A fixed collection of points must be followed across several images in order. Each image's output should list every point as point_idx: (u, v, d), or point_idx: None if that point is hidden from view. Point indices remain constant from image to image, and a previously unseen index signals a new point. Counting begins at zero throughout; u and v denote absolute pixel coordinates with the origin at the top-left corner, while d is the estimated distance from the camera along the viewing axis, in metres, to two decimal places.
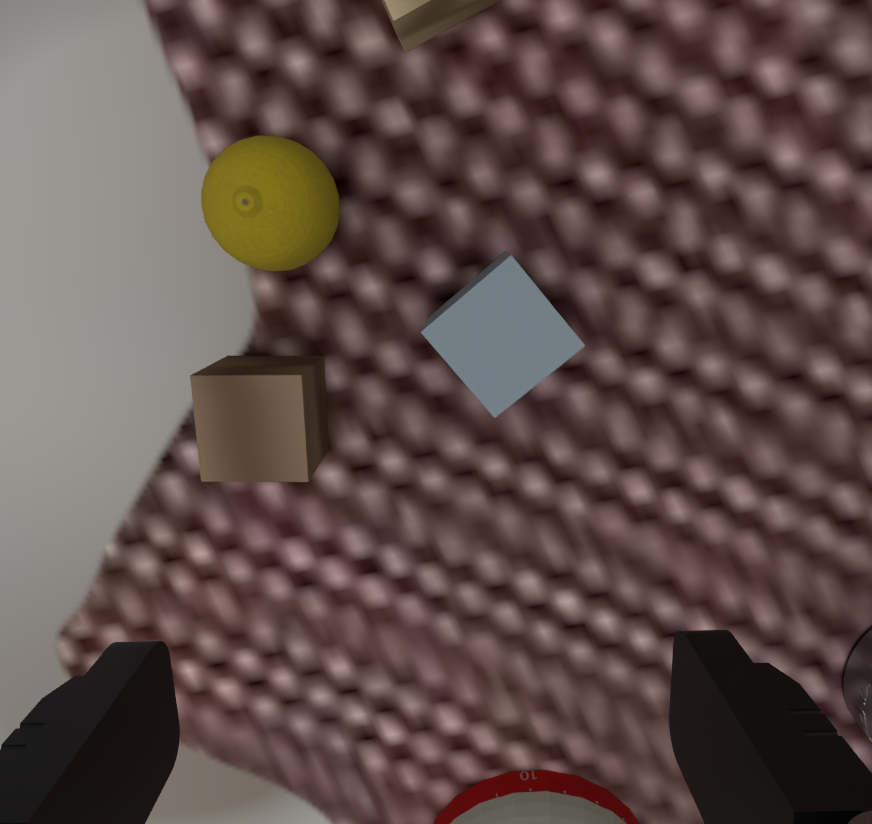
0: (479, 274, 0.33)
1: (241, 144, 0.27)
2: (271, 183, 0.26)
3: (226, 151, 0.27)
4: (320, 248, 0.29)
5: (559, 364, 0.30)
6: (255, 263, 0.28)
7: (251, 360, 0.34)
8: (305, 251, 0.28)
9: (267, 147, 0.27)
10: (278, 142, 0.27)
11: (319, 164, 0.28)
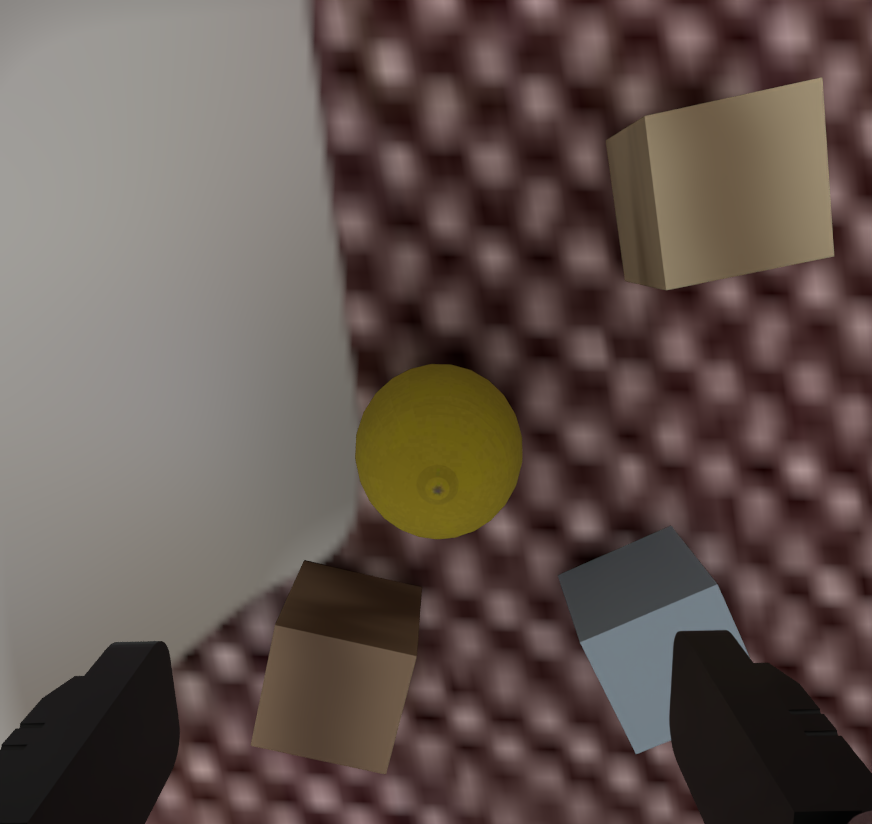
0: (637, 548, 0.28)
1: (439, 397, 0.20)
2: (474, 468, 0.20)
3: (417, 400, 0.20)
4: None
5: None
6: (409, 532, 0.22)
7: (338, 584, 0.27)
8: None
9: (474, 412, 0.20)
10: (483, 400, 0.21)
11: (517, 424, 0.22)
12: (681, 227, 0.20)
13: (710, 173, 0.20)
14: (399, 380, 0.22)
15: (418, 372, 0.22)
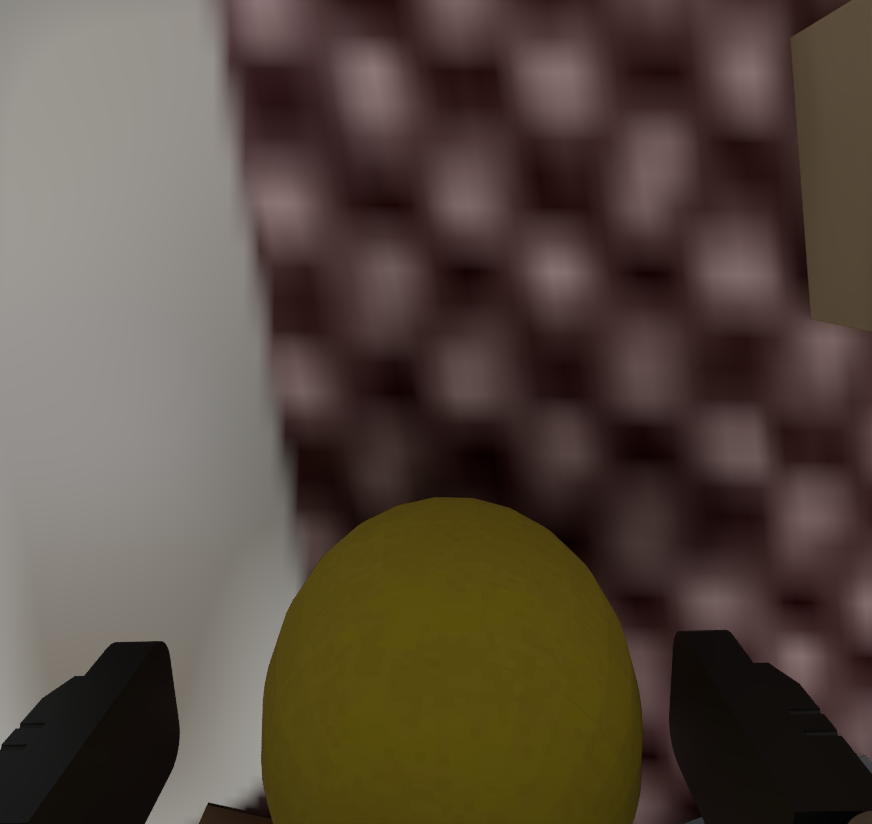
0: None
1: (456, 636, 0.08)
2: None
3: (400, 645, 0.08)
4: None
5: None
6: None
7: None
8: None
9: (545, 678, 0.08)
10: (563, 631, 0.08)
11: (629, 657, 0.10)
12: None
13: None
14: (362, 557, 0.10)
15: (405, 538, 0.10)
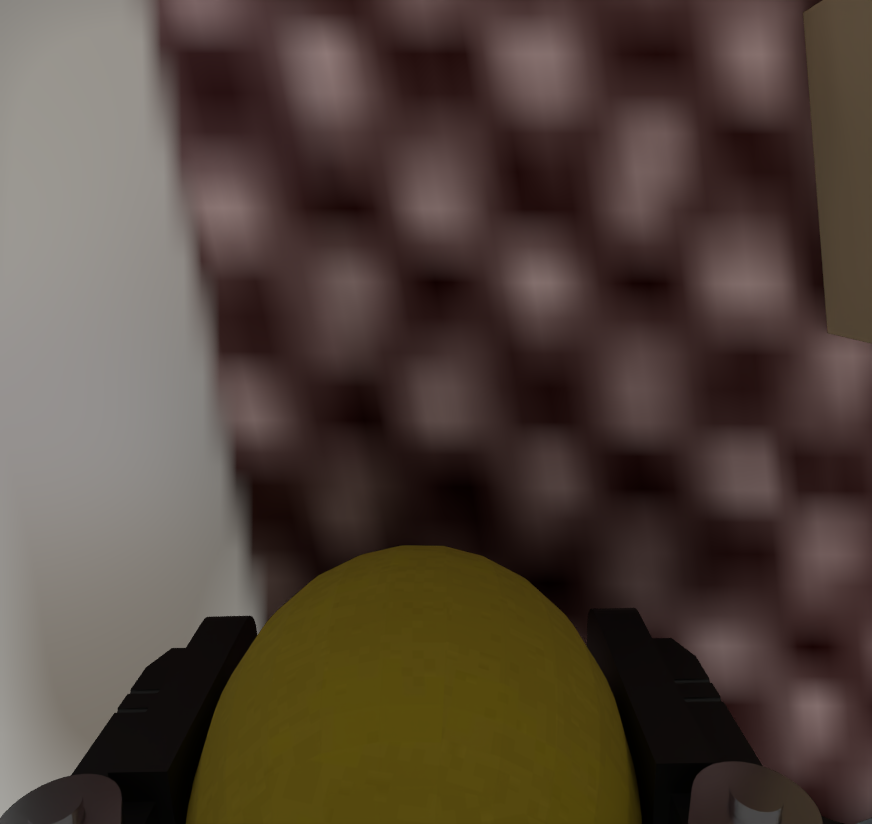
0: None
1: (410, 748, 0.06)
2: None
3: (340, 760, 0.06)
4: None
5: None
6: None
7: None
8: None
9: (521, 801, 0.06)
10: (545, 733, 0.07)
11: (626, 745, 0.08)
12: None
13: None
14: (305, 632, 0.08)
15: (357, 609, 0.08)
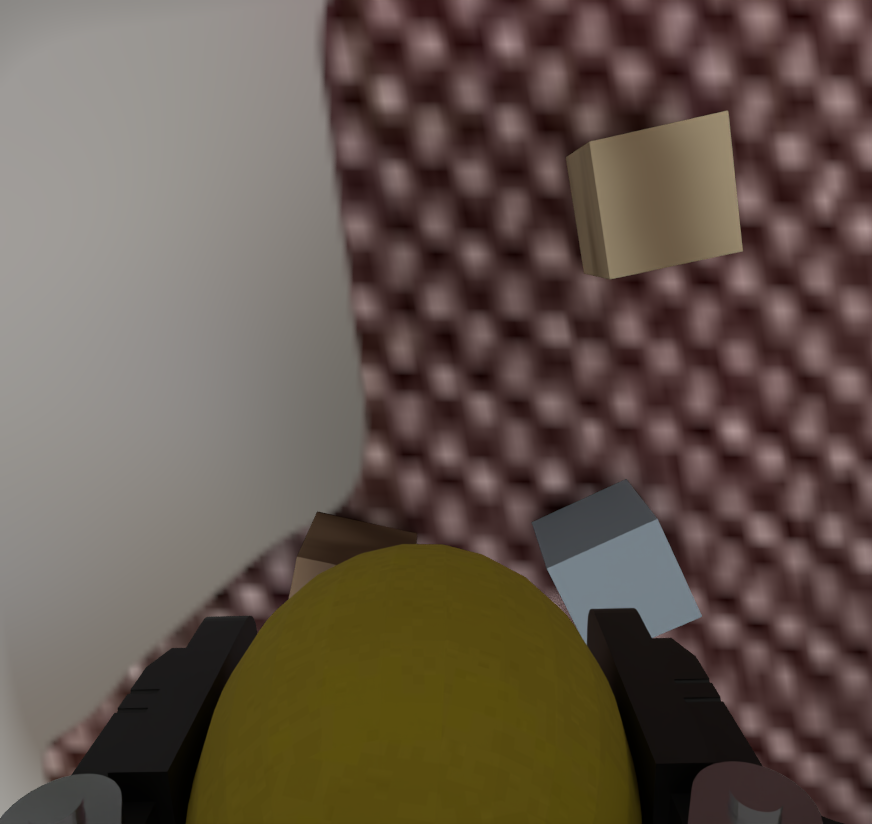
0: (597, 497, 0.33)
1: (410, 746, 0.06)
2: None
3: (340, 758, 0.06)
4: None
5: (672, 627, 0.30)
6: None
7: (346, 529, 0.33)
8: None
9: (521, 799, 0.06)
10: (545, 731, 0.07)
11: (626, 743, 0.08)
12: (621, 229, 0.26)
13: (643, 186, 0.25)
14: (305, 630, 0.08)
15: (357, 607, 0.08)
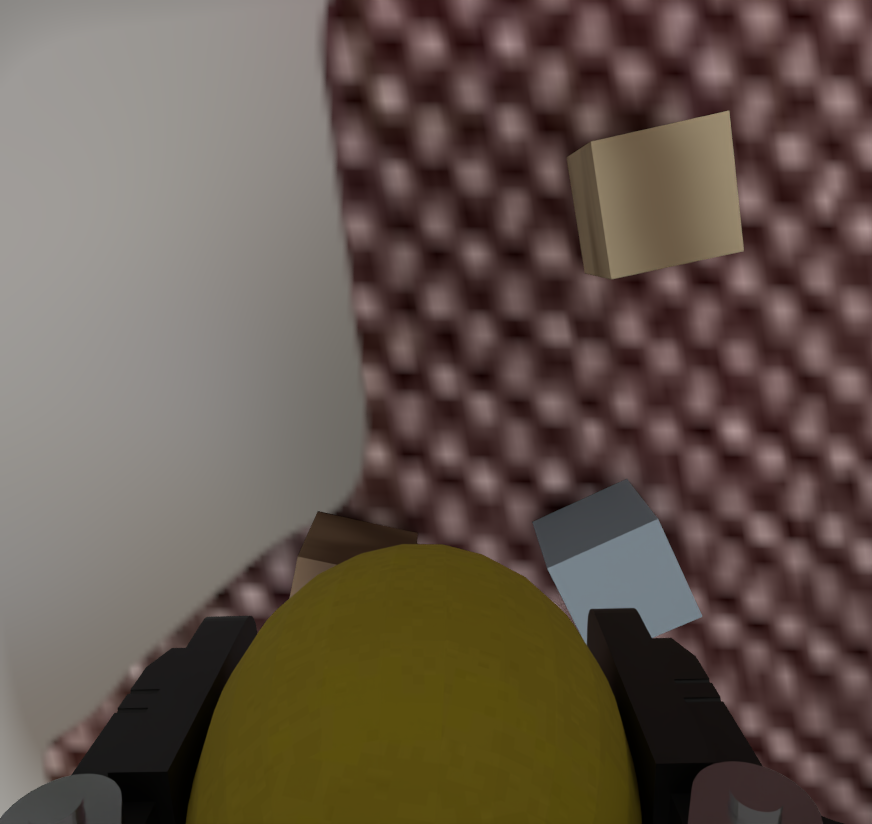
0: (598, 497, 0.33)
1: (410, 746, 0.06)
2: None
3: (340, 758, 0.06)
4: None
5: (672, 627, 0.30)
6: None
7: (347, 529, 0.33)
8: None
9: (521, 800, 0.06)
10: (545, 731, 0.07)
11: (626, 743, 0.08)
12: (622, 229, 0.26)
13: (644, 186, 0.25)
14: (305, 631, 0.08)
15: (357, 607, 0.08)
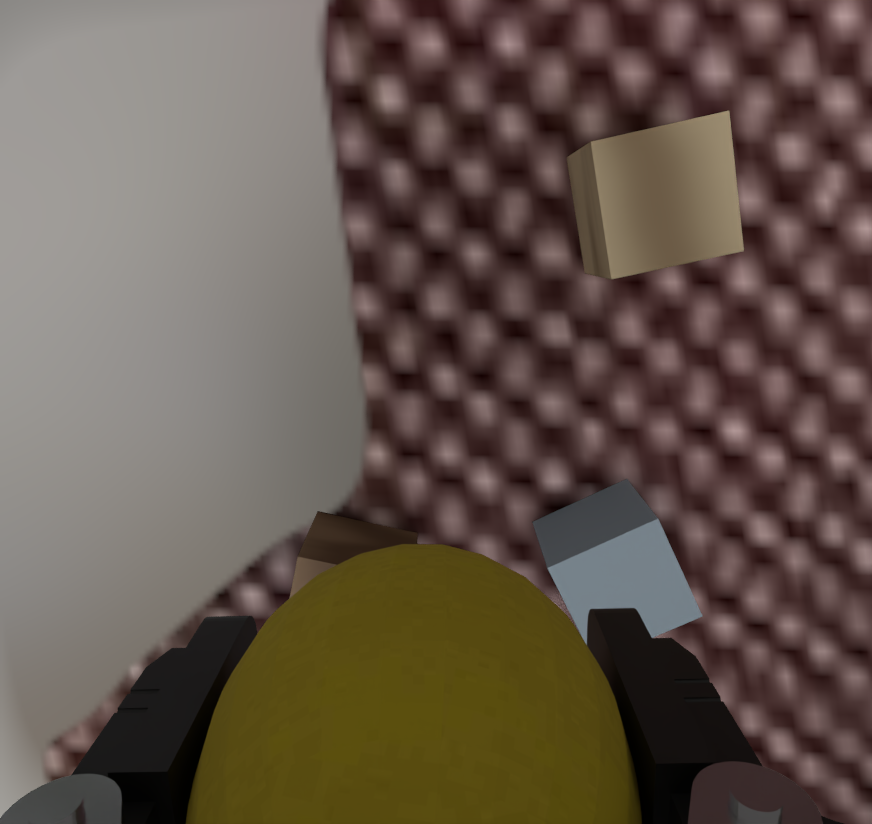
0: (598, 497, 0.33)
1: (410, 746, 0.06)
2: None
3: (340, 758, 0.06)
4: None
5: (672, 627, 0.30)
6: None
7: (347, 529, 0.33)
8: None
9: (521, 800, 0.06)
10: (545, 731, 0.07)
11: (626, 743, 0.08)
12: (622, 229, 0.26)
13: (644, 186, 0.25)
14: (305, 631, 0.08)
15: (357, 607, 0.08)
